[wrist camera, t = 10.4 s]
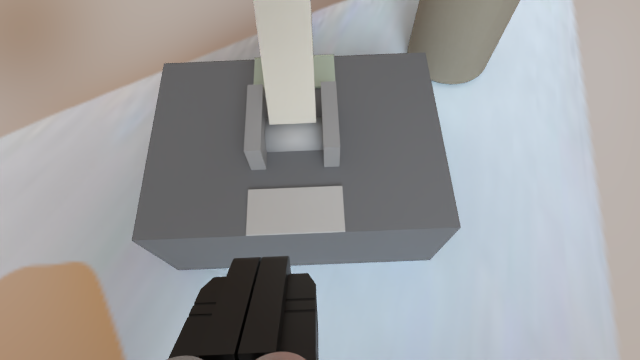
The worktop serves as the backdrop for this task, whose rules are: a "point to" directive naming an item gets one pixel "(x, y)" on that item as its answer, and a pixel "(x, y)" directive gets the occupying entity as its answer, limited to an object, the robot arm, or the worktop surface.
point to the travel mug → (459, 35)
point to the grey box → (296, 167)
